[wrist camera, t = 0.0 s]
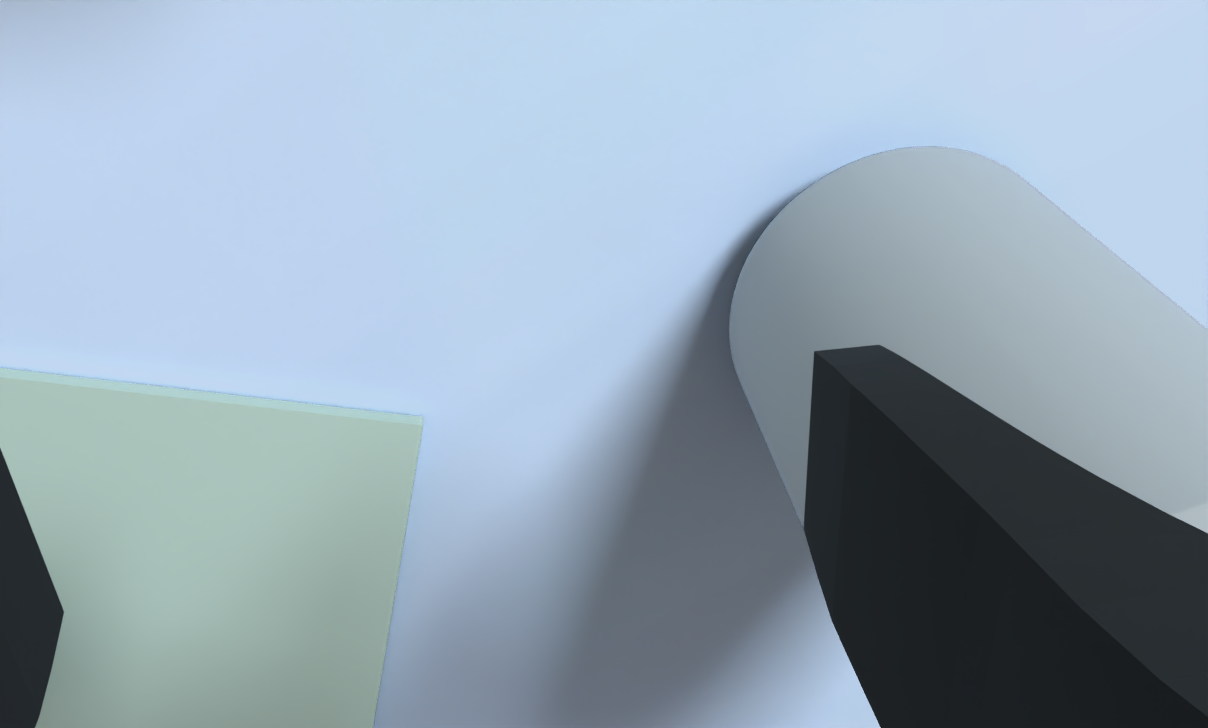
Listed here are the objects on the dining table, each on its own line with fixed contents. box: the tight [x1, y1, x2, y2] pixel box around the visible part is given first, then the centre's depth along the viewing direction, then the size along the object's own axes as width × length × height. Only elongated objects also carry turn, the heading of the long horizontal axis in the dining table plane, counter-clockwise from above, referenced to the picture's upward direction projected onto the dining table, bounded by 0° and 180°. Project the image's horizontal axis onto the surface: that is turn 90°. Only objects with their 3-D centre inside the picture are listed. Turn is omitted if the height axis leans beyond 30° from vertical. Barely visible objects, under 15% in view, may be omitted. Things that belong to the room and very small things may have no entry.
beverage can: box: [729, 146, 1208, 533], centre depth 16 cm, size 6×6×12 cm
